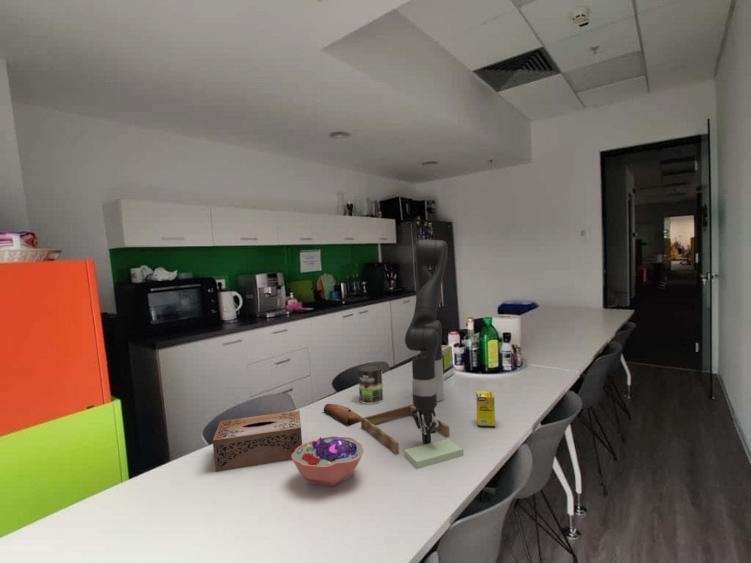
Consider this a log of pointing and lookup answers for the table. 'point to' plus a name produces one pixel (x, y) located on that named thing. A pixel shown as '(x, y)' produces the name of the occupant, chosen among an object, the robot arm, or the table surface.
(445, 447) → the cover plate
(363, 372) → the coffee can
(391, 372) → the table surface
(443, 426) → the open wooden frame
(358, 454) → the cell model
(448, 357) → the tea box
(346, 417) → the sunglasses case
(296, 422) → the tissue box cover
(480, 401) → the supplement box
